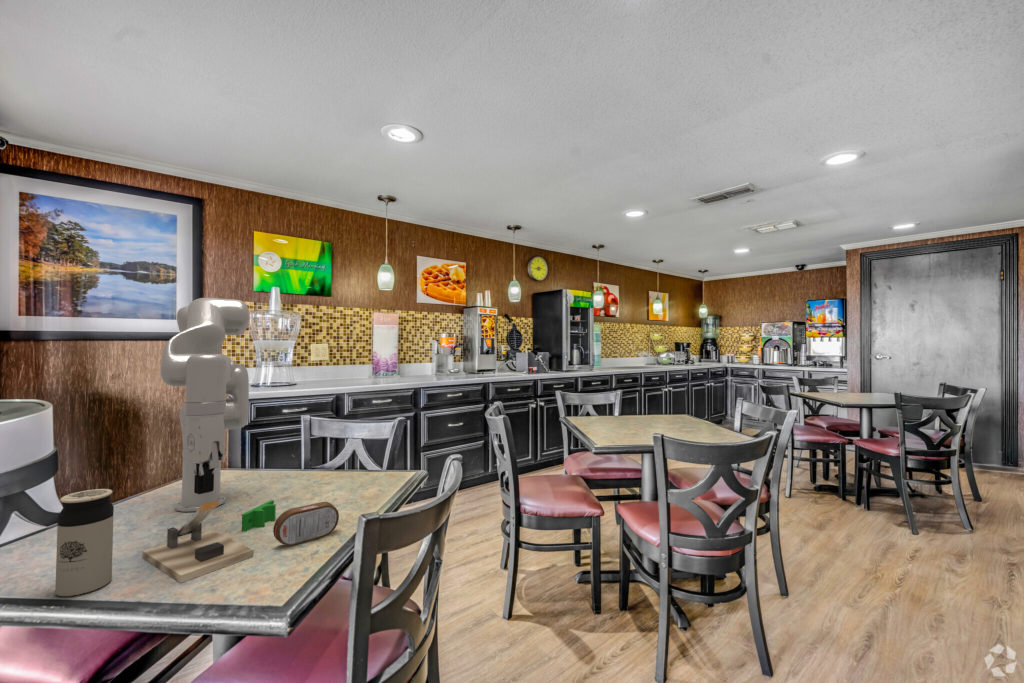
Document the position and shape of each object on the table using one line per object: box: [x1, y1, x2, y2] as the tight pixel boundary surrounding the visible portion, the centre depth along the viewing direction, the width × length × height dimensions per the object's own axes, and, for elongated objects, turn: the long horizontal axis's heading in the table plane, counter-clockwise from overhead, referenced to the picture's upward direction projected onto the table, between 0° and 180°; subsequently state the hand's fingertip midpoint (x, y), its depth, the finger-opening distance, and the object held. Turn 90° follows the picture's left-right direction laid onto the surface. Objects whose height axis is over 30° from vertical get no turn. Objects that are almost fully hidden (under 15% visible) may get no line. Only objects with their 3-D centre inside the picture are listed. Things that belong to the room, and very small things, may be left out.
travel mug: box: [54, 488, 115, 597], centre depth 88 cm, size 8×8×18 cm
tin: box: [272, 501, 340, 547], centre depth 110 cm, size 15×3×8 cm, turn 135°
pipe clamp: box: [241, 499, 277, 532], centre depth 120 cm, size 11×4×5 cm, turn 173°
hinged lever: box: [178, 501, 219, 538], centre depth 101 cm, size 16×3×1 cm
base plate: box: [141, 522, 254, 584], centre depth 100 cm, size 20×14×6 cm
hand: (204, 492), depth 99 cm, fingers closed
